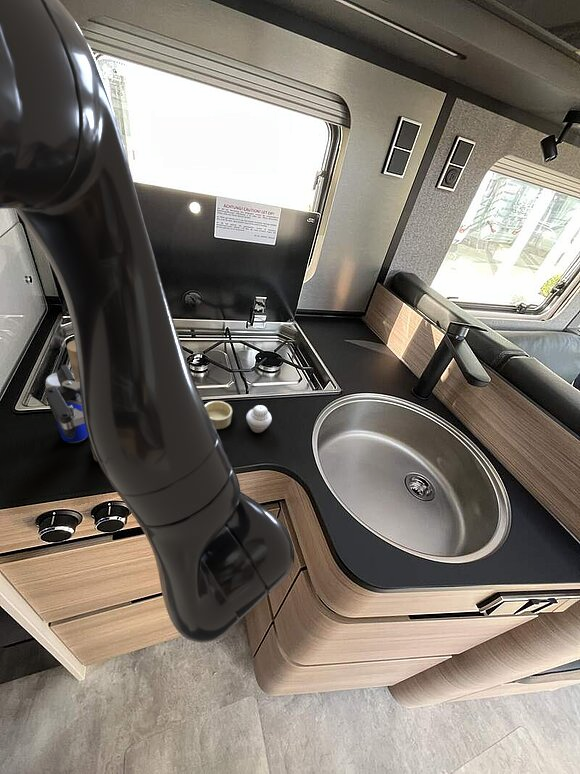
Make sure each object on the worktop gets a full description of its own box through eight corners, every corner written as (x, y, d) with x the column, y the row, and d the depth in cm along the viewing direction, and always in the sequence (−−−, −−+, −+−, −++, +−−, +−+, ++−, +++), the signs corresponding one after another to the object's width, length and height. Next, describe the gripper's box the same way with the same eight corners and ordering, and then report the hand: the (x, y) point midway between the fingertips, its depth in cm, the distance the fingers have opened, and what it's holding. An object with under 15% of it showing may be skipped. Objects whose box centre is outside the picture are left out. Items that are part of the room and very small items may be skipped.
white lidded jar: (274, 432, 82) (279, 411, 78) (253, 440, 79) (256, 418, 75) (261, 416, 86) (264, 396, 82) (240, 423, 82) (243, 402, 78)
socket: (211, 433, 78) (211, 423, 77) (197, 415, 82) (197, 406, 80) (236, 423, 82) (237, 414, 81) (221, 406, 86) (222, 397, 85)
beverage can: (55, 438, 69) (36, 380, 60) (77, 423, 73) (62, 367, 64) (75, 448, 68) (58, 390, 59) (96, 432, 72) (83, 376, 63)
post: (97, 465, 66) (70, 354, 51) (90, 451, 68) (63, 341, 53) (119, 457, 68) (100, 348, 53) (112, 444, 71) (92, 336, 55)
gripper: (209, 393, 38) (152, 329, 47) (66, 438, 30) (29, 350, 39) (207, 439, 43) (155, 372, 51) (81, 490, 34) (45, 400, 43)
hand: (101, 363), depth 45 cm, fingers open, 8 cm apart
